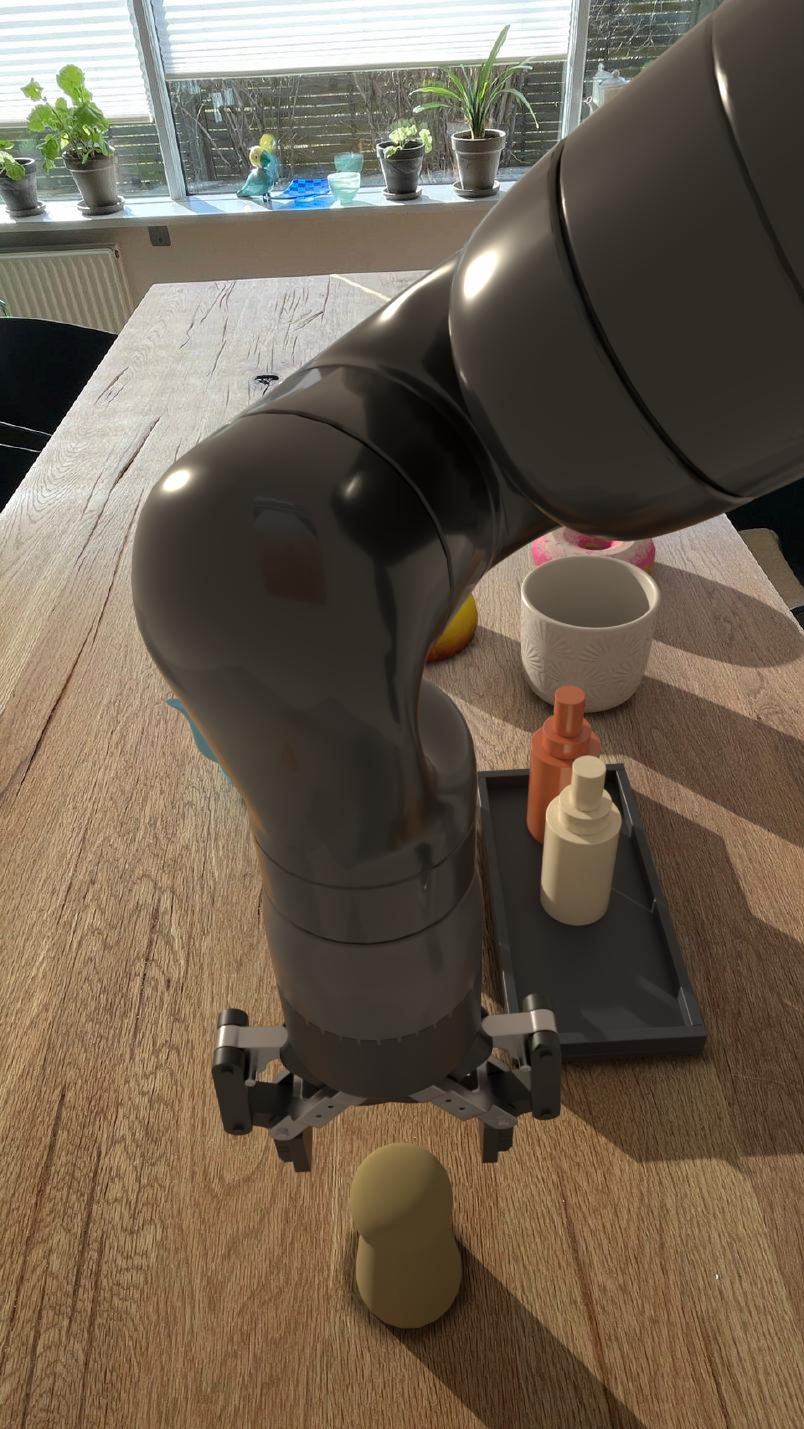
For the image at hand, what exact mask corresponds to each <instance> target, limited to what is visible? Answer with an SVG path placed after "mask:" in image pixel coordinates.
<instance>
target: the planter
mask: <svg viewBox="0 0 804 1429" xmlns="http://www.w3.org/2000/svg"><path fill="white" fill-rule="evenodd" d="M661 594H662V593H661V590H660V587H659V585H658V584H657V582H656V581H655V579H654V578H653V577H652V575H650V574H649V573H648V574H647V573H646V572H645V571H643V570H642V569H640V568H638V567H637V566H635V565H632V564H630V563H628V562H625V561H622V560H619V559H615V558H611V557H605V556H597V555H574V556H566V557H561V558H557V559H553V560H550V561H548V562H545V563H543V564H541V565H539V566H538V567H535V568H533V569H532V570H530V571H529V573H528V574H527V575H526V576H525V578H524V579H523V581H522V583H521V587H520V654H521V663H522V664H521V665H522V670H523V674H524V677H525V680H526V682H527V684H528V686H529V688H530V689H531V690H532V692H533V693H534V694H535V695H536V696H538V697H539V698H540V699H541V700H542V701H544V702H545V703H547V704H549V705H551V706H552V707H554V699H555V692H556V691H557V690H558V689H559V688H561V687H563V686H575V687H578V688H580V689H581V690H583V691H584V693H585V695H586V698H585V707H584V714H585V713H586V714H589V713H597V712H598V713H599V712H604V711H607V710H611V709H614V708H616V707H619V706H620V705H621V704H624V703H625V702H627V700H629V699H630V698H631V697H632V696H633V695H634V694H635V693H636V691H637V690H638V688H639V687H640V684H641V683H642V680H643V678H644V675H645V672H646V668H647V665H648V663H649V658H650V654H651V649H652V644H653V639H654V635H655V630H656V627H657V626H656V625H657V619H658V614H659V609H660V605H661V600H662V595H661Z"/></svg>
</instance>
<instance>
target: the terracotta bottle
mask: <svg viewBox="0 0 804 1429" xmlns="http://www.w3.org/2000/svg"><path fill="white" fill-rule="evenodd" d="M585 698H586V695H585V693H584V691H583V690H581V689H580V688H578V687H575V686H563V687H561V688H559V689H558V690H557V691H556V692H555V699H554V706H553V714H552V715H550V716H548V718H546V719H545V720H544V722H543V724H542V726H541V727H540V728H538V729H537V730H536V731H535V732H534V734H533V735H532V737H531V741H530V756H529V768H530V769H529V786H528V803H527V820H526V825H527V829H528V832H529V833H530V835H531V836H532V837H533V838H534V839H535V840H536V841H537V842H539V843H540V844H542V845H544V832H545V820H546V811H547V808H548V806H549V804H550V803H551V802H552V800H553V799H555V798H556V797H557V796H559V795H560V793H561V792H562V790H563V789H564V788H565V787H567V786H569V785H571V777H572V767H573V763H574V761H575V760H576V759H577V758H579V757H582V756H594V757H597V758H599V759H600V757H601V748H602V747H601V741H600V739H599V738H598V735H597V734H596V733H595V731H593V730H592V729H593V728H592V726H591V724H590V722H589V720H587V719H586V718H585V713H584V707H585Z"/></svg>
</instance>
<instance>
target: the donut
mask: <svg viewBox="0 0 804 1429" xmlns="http://www.w3.org/2000/svg"><path fill="white" fill-rule="evenodd" d="M574 555H597V556H605V557H611V558H615V559H619V560H622V561H625V562H628V563H630V564H632V565H635V566H637V567H638V568H640V569H642V570H643V571H645V572H646V573H647V574H649V573H650V572H651V570H652V568H653V566H654V565H655V560H656V559H655V558H656V546H655V544H654V541H653V538H650V539H646V540H638V541H629V542H623V541H611V540H600V539H595V538H591V537H588V536H584V535H582V534H579V533H577V532H574V531H572V530H570V529H568V528H566V527H562V528H559V529H557V530H555V531H552V532H550V533H548V534H546V535H544V536H542V537H540V538H538V539H536V540H534V541H533V542H532V546H531V560H532V563H533V565H534V567H535V568H536V567H538V566H539V565H541V564H543V563H545V562H548V561H550V560H553V559H557V558H561V557H566V556H574Z"/></svg>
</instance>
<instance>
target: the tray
mask: <svg viewBox="0 0 804 1429" xmlns="http://www.w3.org/2000/svg"><path fill="white" fill-rule="evenodd" d="M605 765H606V775H605V782H604V789H605V790H606V791H607V792H608V793H609V795H610V797H611V799H612V802H613V803H614V804H615V805H616V807H617V808H618V810H619V812H620V814H621V819H622V823H621V830H620V836H619V843H618V849H617V856H616V862H615V869H614V875H613V882H612V888H611V894H610V901H609V906H608V909H607V911H606V913H605V914H604V915H603V916H602V917H601V918H600V919H599V920H597V921H596V922H593V923H591V924H588V925H582V926H573V925H568V924H564V923H561V922H559V921H557V920H555V919H554V918H552V917H551V916H550V915H549V914H548V913H547V912H546V911H545V910H544V908H543V906H542V904H541V901H540V883H541V871H542V858H543V845H542V844H540V843H539V842H537V841H536V840H535V839H534V838H533V837H532V836H531V835H530V833H529V832H528V829H527V825H526V820H527V803H528V786H529V769H530V767H529V768H511V769H496V770H495V769H494V770H493V769H492V770H477V771H478V820H479V821H478V822H479V828H480V835H481V836H480V838H481V844H482V851H483V859H484V867H485V873H486V874H485V875H486V881H487V882H486V883H487V889H488V890H487V891H488V898H489V904H490V911H491V920H492V926H493V935H494V942H495V949H496V956H497V957H496V958H497V964H498V972H499V980H500V988H501V994H502V995H501V996H502V1003H503V1010H504V1014H512V1013H523V1000H524V999H525V998H526V997H527V996H529V995H531V994H535V993H544V994H548V995H549V996H551V997H552V1001H553V1007H554V1013H555V1018H556V1024H557V1029H558V1035H559V1042H560V1047H561V1053H562V1063H571V1062H590V1061H591V1062H592V1061H606V1060H607V1061H609V1060H626V1059H643V1058H659V1057H662V1058H663V1057H679V1056H681V1057H682V1056H697V1055H698V1056H699V1055H702V1054H703V1052H704V1048H705V1045H706V1042H707V1039H708V1033H707V1030H706V1026H705V1024H704V1021H703V1017H702V1014H701V1011H700V1008H699V1005H698V1001H697V997H696V994H695V991H694V988H693V985H692V982H691V978H690V975H689V972H688V968H687V965H686V962H685V959H684V955H683V953H682V950H681V946H680V943H679V940H678V936H677V933H676V930H675V927H674V924H673V920H672V917H671V914H670V911H669V906H668V904H667V901H666V898H665V893H664V891H663V887H662V885H661V881H660V878H659V874H658V872H657V867H656V865H655V862H654V858H653V855H652V851H651V849H650V845H649V843H648V842H649V841H648V838H647V836H646V832H645V829H644V826H643V823H642V819H641V816H640V812H639V810H638V807H637V804H636V803H637V802H636V800H635V797H634V793H633V791H632V790H633V789H632V787H631V783H630V780H629V777H628V773H627V771H626V767H625V764H624V762H619V763H618V762H617V763H605ZM510 1062H511V1065H512V1066H517V1065H518V1066H519V1061H518V1060H516V1059H513V1058H511V1057H510Z"/></svg>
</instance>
